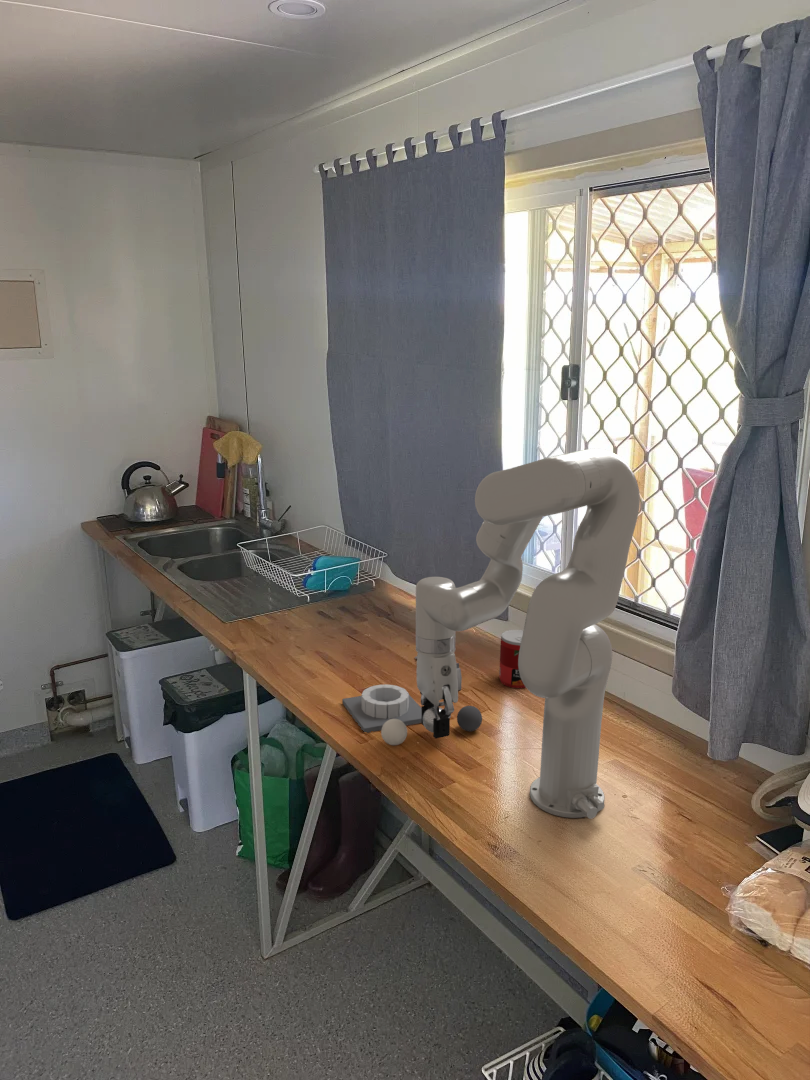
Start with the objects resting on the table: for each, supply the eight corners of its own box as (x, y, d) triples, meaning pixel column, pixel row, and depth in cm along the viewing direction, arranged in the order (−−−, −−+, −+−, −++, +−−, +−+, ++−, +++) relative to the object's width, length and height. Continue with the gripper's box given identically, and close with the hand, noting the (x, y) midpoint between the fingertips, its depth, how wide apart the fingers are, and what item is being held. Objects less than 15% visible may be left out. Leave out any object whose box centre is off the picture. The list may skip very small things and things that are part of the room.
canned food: (514, 691, 187) (516, 645, 184) (491, 678, 194) (493, 633, 191) (540, 684, 191) (543, 638, 188) (518, 671, 198) (520, 627, 195)
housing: (429, 721, 173) (429, 703, 172) (364, 733, 168) (364, 714, 167) (403, 693, 186) (404, 676, 185) (342, 703, 181) (342, 685, 179)
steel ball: (452, 734, 165) (452, 710, 163) (428, 739, 163) (428, 715, 162) (441, 723, 169) (441, 700, 168) (418, 728, 167) (418, 704, 166)
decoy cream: (411, 747, 163) (411, 723, 161) (386, 752, 161) (386, 728, 160) (401, 735, 167) (401, 712, 166) (377, 739, 165) (377, 716, 164)
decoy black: (486, 733, 169) (487, 710, 167) (463, 737, 167) (463, 714, 165) (474, 722, 173) (475, 699, 172) (452, 726, 171) (453, 703, 170)
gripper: (473, 655, 155) (472, 746, 160) (435, 625, 171) (435, 709, 175) (435, 661, 153) (435, 753, 157) (400, 630, 168) (401, 715, 172)
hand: (435, 729), depth 166 cm, fingers closed on steel ball, 5 cm apart
